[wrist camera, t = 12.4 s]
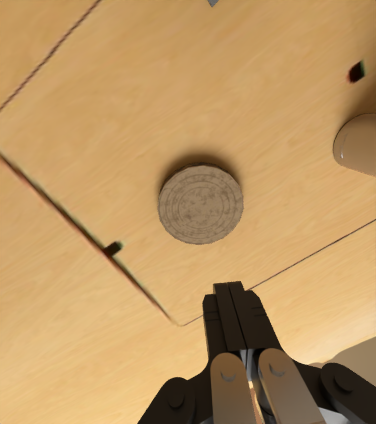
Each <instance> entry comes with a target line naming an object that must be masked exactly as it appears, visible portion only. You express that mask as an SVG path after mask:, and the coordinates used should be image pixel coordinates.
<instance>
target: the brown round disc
mask: <svg viewBox="0 0 376 424" xmlns="http://www.w3.org/2000/svg"><path fill="white" fill-rule="evenodd" d="M242 212H243V195H242V192H241V190H240V187H239V185H238V183H237V182H236V181H235V180H234V179H233V178H232V177H231V175H230V174H229V173H228V172H227V171H226V170H224V169H222V168H220V167H218V166H216V165H214V164H208V163H202V162H200V163H194V164H188V165H186V166H183V167H181V168H179V169H177V170H175V171H174V172H173V173H172V174H171V175H170V176H169V177H168V178H167V179H166V181H165V183H164V185H163V187H162V189H161V191H160V195H159V201H158V213H159V218H160V221H161V223H162V225H163V226H164V228H165V229H166V231H167V232H168V233H169V234H171V235H172V236H173V237H174V238H175V239H178V240H180V241H182V242H185V243H188V244H196V245H202V244H209V243H213V242H215V241H218V240H220V239H222V238H224V237H225V236H226V235H228V234H229V233H230V232H231V231H233V229H234V228H235V227H236V225H237V224H238V222H239V221H240V218H241V215H242Z"/></svg>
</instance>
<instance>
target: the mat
mask: <svg viewBox="0 0 376 424" xmlns="http://www.w3.org/2000/svg"><path fill="white" fill-rule="evenodd" d="M217 1H218V0H208V2H209V3H210V5H211V7H213V6H214V5H215V4H216V3H217Z"/></svg>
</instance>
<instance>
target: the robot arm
mask: <svg viewBox="0 0 376 424" xmlns="http://www.w3.org/2000/svg"><path fill="white" fill-rule="evenodd" d="M333 153H334V157H335V160H336V161H337V162H338V163H339V164H340V165H341V166H343V167H346V168H349V169H352V170H355V171H359V172H361V173H364V174H368V175H371V176H374V177H376V113H370V114H362V115H359V116H357V117H355V118H353V119H352V120H350V121H349V122H348V123H347V124H346V125H345V126H344V127H343V128H342V129H341V130H340V132H339V133H338V135H337V137H336V139H335V142H334V148H333ZM202 304H203V318H204V328H205V336H206V344H207V351H208V359H209V360H208V363H207V366H206V367H205V369H204V370H203V371H202V372H201V373H200V374H198V375H196V376H195V377H193V378H191V379H189V380H186V379H184V378H181V377H175V378H172V379H169V380H168V381H167V382H166V383H164V385H163V386H162V387H161V389H160V390H159V392H158V393H157V395H156V396H155V398H154V399H153V401H152V402H151V404H150V405H149V407H148V408H147V410H146V411H145V413H144V414H143V416H142V417H141V419H140V420H139V422H138V423H137V424H257V423H256V419H255V414H254V408H253V404H252V399H251V393H250V388H249V383H248V381H252V383H253V387H254V390H255V403H256V406H257V409H258V412H259V415H260V418H261V421H262V424H376V387H375V386H374V385H372V384H371V383H369V382H368V381H366V380H365V379H363V378H362V377H360V376H359V375H357V374H356V373H354V372H353V371H352V370H350V369H349V368H347V367H345V366H343V365H341V364H338V363H327V364H325V365H324V366H323V367H322V369H320V368H317V367H313V366H309V365H305V364H302V363H299V362H297V361H295V360H293V359H292V358H291V357H289V356H288V355H287V354H286V353H285V352H284V350H283V349H282V347H281V345H280V343H279V341H278V339H277V336H276V334H275V332H274V330H273V327H272V325H271V323H270V321H269V318H268V316H267V314H266V312H265V309H264V308H263V305H262V303H261V300H260V298H259V297H258V296H257V295H256V294H255V293H254V292H253V291H252V290H249V291H245V290H244V288H243V285H242V283H241V281H236V282H227V283H216V284H213V294H208V295H205V297H204V300H203V303H202Z"/></svg>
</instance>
